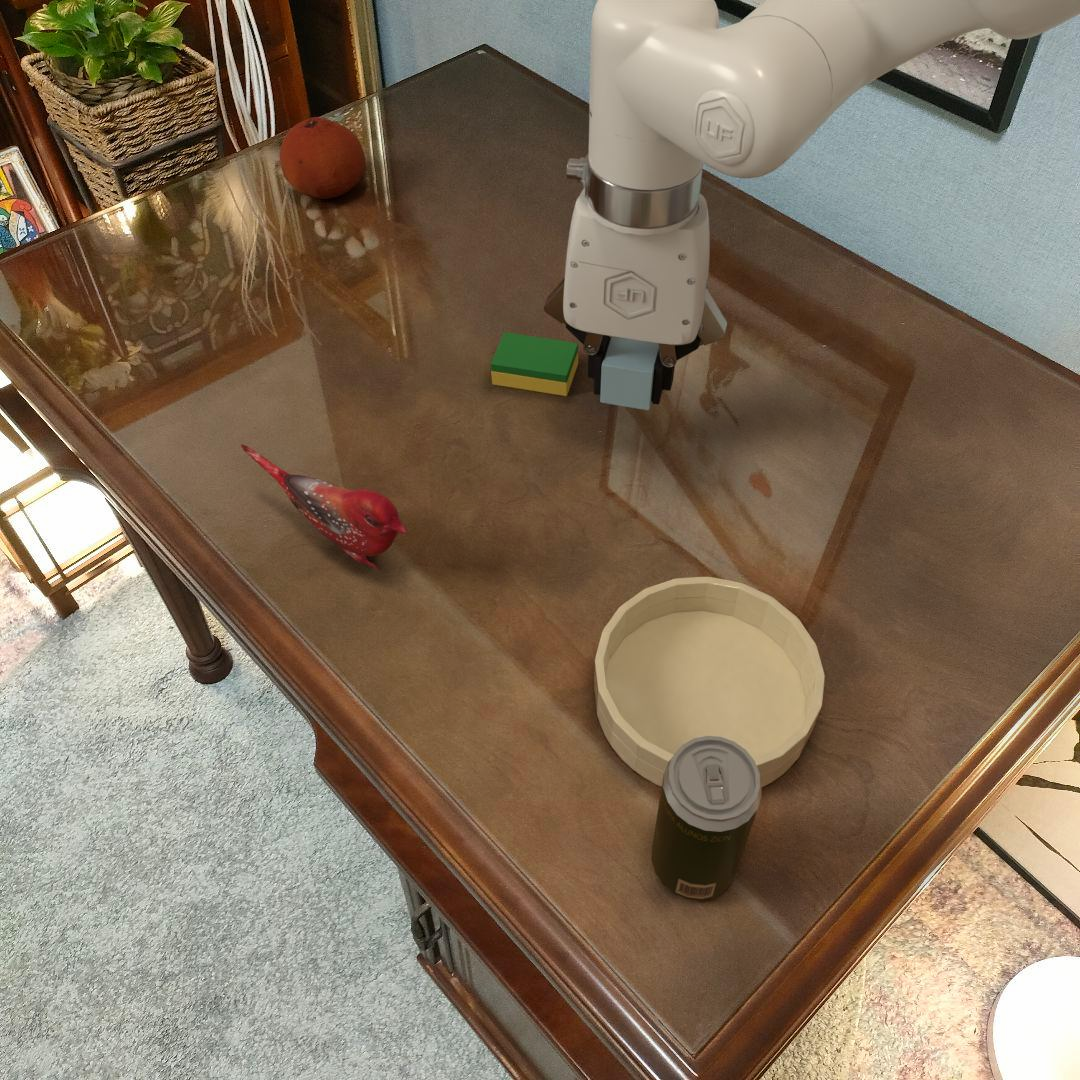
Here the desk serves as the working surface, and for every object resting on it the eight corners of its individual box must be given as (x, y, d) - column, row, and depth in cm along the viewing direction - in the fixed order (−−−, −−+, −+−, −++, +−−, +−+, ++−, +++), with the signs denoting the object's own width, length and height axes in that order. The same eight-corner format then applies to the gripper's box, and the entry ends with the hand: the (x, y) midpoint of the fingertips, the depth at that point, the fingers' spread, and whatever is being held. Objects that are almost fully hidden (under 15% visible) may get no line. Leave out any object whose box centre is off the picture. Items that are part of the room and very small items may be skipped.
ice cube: (658, 377, 83) (662, 339, 80) (649, 410, 81) (652, 372, 78) (610, 370, 84) (612, 331, 81) (600, 402, 82) (601, 364, 79)
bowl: (821, 631, 75) (832, 599, 72) (802, 821, 66) (813, 794, 63) (618, 592, 78) (620, 559, 75) (573, 769, 68) (573, 741, 65)
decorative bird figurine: (407, 610, 77) (388, 526, 69) (246, 506, 84) (213, 419, 76) (431, 585, 78) (416, 499, 71) (271, 485, 85) (241, 397, 78)
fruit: (271, 198, 112) (253, 130, 106) (324, 161, 117) (310, 93, 111) (332, 223, 109) (318, 154, 103) (384, 183, 114) (373, 115, 108)
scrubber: (578, 363, 94) (578, 342, 92) (566, 396, 91) (566, 375, 90) (505, 352, 95) (504, 331, 93) (492, 384, 93) (490, 363, 91)
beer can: (743, 902, 63) (773, 820, 53) (656, 907, 63) (671, 827, 53) (728, 819, 66) (754, 729, 57) (645, 824, 66) (658, 734, 57)
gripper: (508, 199, 67) (517, 402, 82) (763, 233, 64) (726, 437, 79) (536, 140, 72) (541, 342, 86) (776, 169, 69) (739, 373, 83)
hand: (629, 386), depth 82 cm, fingers closed on ice cube, 4 cm apart
